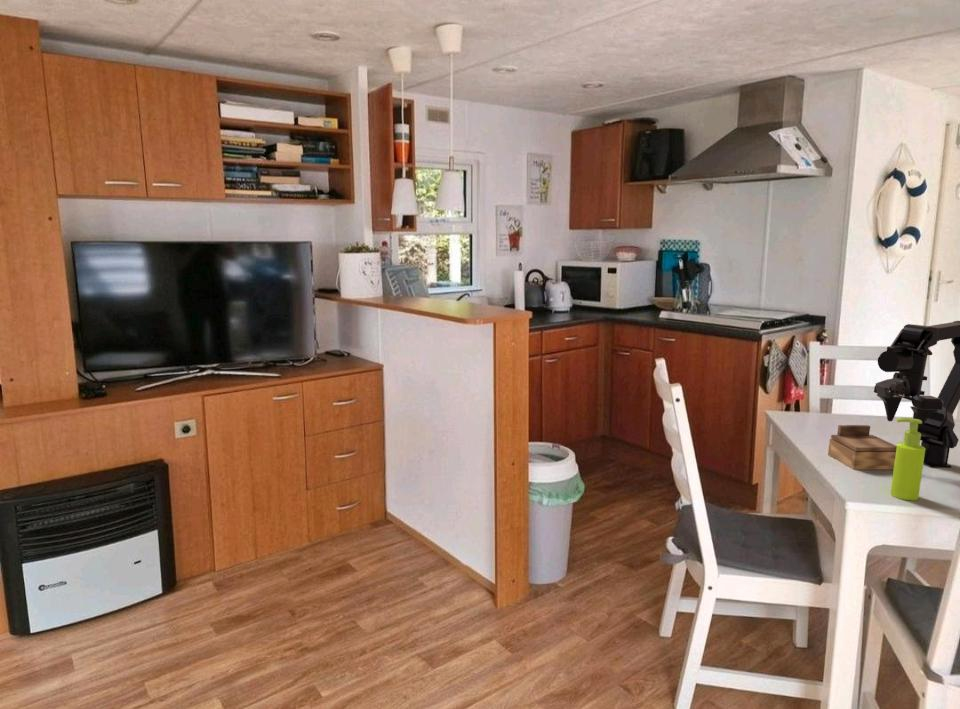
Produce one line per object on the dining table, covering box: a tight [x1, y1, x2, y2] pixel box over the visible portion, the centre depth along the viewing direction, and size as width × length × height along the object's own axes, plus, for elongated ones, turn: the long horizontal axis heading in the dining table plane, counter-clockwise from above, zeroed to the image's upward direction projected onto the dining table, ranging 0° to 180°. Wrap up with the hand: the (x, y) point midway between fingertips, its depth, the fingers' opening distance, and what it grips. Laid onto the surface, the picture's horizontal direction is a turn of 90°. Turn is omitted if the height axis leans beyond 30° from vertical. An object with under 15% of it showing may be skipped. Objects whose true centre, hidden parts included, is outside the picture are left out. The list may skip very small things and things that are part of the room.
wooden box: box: [827, 438, 896, 470], centre depth 186 cm, size 13×12×5 cm
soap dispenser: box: [890, 417, 925, 501], centre depth 160 cm, size 6×7×20 cm
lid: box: [830, 424, 897, 451], centre depth 185 cm, size 13×12×4 cm
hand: (901, 425), depth 178 cm, fingers open, 9 cm apart
